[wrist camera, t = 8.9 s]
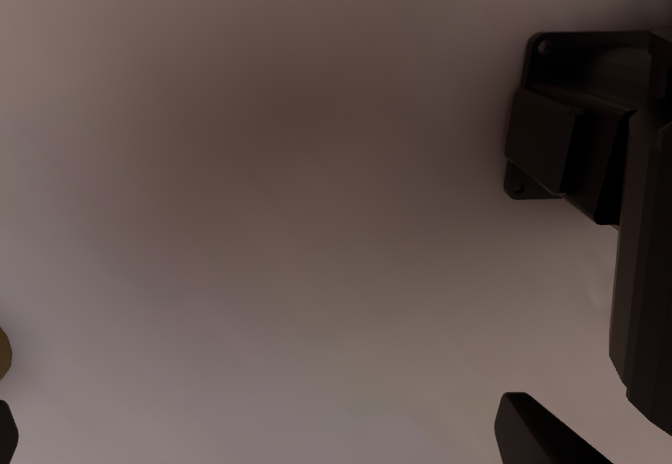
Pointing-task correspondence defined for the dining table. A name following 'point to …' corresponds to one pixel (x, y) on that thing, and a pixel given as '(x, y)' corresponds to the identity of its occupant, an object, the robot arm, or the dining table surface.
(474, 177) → the dining table surface
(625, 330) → the robot arm
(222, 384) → the dining table surface
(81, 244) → the dining table surface
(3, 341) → the olive pepper shaker
